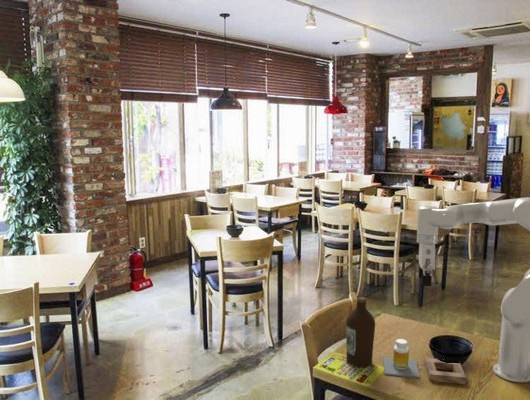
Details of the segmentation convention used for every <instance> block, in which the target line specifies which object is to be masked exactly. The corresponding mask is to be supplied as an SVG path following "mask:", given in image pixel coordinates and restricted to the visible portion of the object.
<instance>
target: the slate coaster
mask: <svg viewBox="0 0 530 400" xmlns="http://www.w3.org/2000/svg"><path fill="white" fill-rule="evenodd" d="M382 363H383V370H384V372H383V373H384V376H392V377H393V376H394V377H402V378H403V377H404V378H411V379H412V378H413V379H421V375H420V370H419V368H418V365H417V364H418V363H417V360H413V359H408V368H407V369H404V370H401V369H397V368H395V367H394V366H393V357H382Z"/></svg>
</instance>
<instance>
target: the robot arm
mask: <svg viewBox="0 0 530 400" xmlns="http://www.w3.org/2000/svg"><path fill="white" fill-rule="evenodd" d="M417 211H418V212H417V228H416V229H417V230H416V242H417V243H418V244H419V245H418V264H419V268H418V278H419V279H421V280H422V281H421V285H422V286H423V287H432V270H433V271H434V270H435V269H436V245H437V244H438V241H439V237H438V235H439V228H441V229H444V230H452V229H454V228H455V227H457V226H458V225H466V224H477V223H478V224H485V225H487V226H502V225H511V224H513V225H514V224H519V225H520V226H521V227H523V228H525V229H526V230H527V231H529V232H530V197H529V196H527V197H526V196H525V197H518V198H511V199H510V198H509V199H501V200H500V199H499V200H492V201H483V202H475V203H474V202H473V203H472V202H471V203H463V204H462V203H461V204H455V205H449V206H447V207H445V208H441V209H440V208H438V207H437V206H432V205H422V206H420V207H419V208H418V210H417ZM500 313H501V315H502V317H501V328H500V338H499V339H500V340H499V352H498V354H499V355H498V362H497V363H494V365H493V366H492V371H493V372H494V374H495V375H497V376H498V377H500V378H502V379H503V380H506V381H510V382H514V383H529V382H530V268H528V270H527V271H526V272H525V274H524V276H523V278H522V280H521V281H520V282H519V284H518V285H516V286H515V287H511V288H510V289H508V290H507V292H506V293H505V294H504V296H503V298H502V301H501V304H500Z"/></svg>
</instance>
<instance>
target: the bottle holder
mask: <svg viewBox="0 0 530 400" xmlns="http://www.w3.org/2000/svg"><path fill="white" fill-rule="evenodd" d="M438 359H439V358H432V357H431V358H430V357H424V368H425V371H426V374H427V377H428V381H429V382H439V383H446V384H447V383H448V384H459V385H467V375H466V373H465V372H464V369H463V367H462V364H461V362H460V363H445V362H442V361H440V360H438ZM440 370H444V371H440ZM447 370H448V371H447ZM450 371H451V372H450Z"/></svg>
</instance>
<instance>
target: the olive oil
mask: <svg viewBox="0 0 530 400" xmlns="http://www.w3.org/2000/svg"><path fill="white" fill-rule="evenodd" d="M375 330H376V321H375V317H374V316H373V314H372V313H371V312H370V311H369V310H368V309H367V297H365V296H357V298H356V307H355V308H354V309H353V310H352V311H350V312H349V313H348V315H347V317H346V319H345V333H346V335H345V337H346V338H345V339H346V345H345V346H346V362H347V364H348V365H350V366H352V367H355V368H367V367H370V366H372V364H373V363H372V362H373V353H374V351H373V350H374V344H375V343H374V342H375V332H376V331H375Z"/></svg>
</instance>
